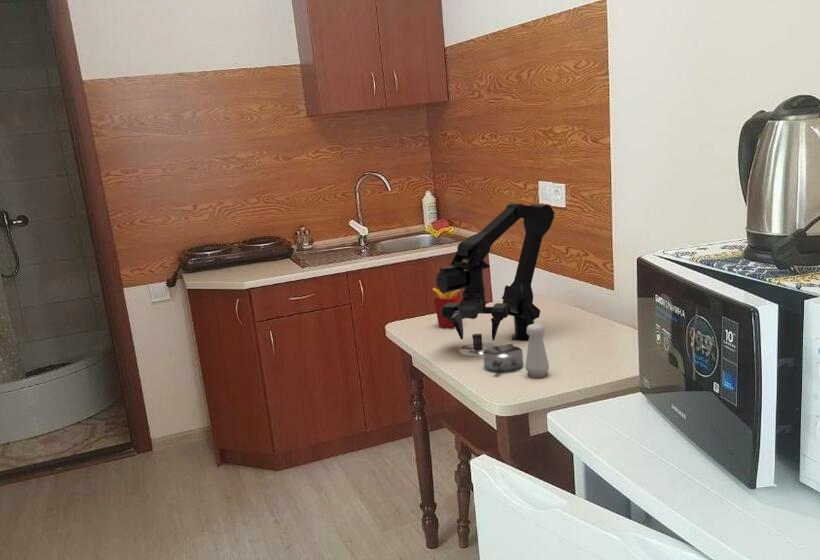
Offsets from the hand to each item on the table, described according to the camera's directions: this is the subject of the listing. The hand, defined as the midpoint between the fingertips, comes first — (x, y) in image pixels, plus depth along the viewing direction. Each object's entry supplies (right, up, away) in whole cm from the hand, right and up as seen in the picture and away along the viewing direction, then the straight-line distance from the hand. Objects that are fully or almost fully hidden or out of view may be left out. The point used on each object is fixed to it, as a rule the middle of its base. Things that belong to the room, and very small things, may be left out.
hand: (477, 339), depth 202 cm
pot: (+6, -6, -14) cm, 16 cm away
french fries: (-5, +2, +26) cm, 27 cm away
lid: (0, -3, +1) cm, 3 cm away
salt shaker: (+13, -7, -22) cm, 27 cm away
